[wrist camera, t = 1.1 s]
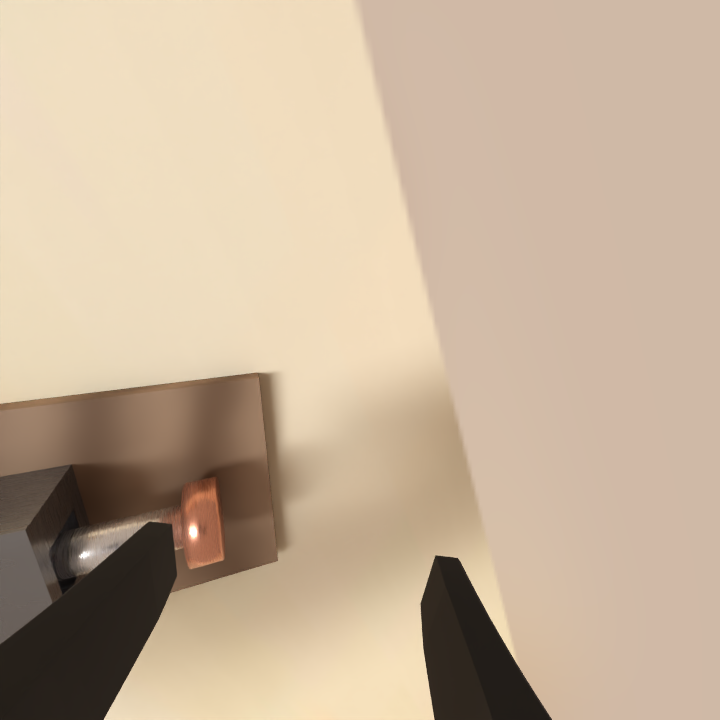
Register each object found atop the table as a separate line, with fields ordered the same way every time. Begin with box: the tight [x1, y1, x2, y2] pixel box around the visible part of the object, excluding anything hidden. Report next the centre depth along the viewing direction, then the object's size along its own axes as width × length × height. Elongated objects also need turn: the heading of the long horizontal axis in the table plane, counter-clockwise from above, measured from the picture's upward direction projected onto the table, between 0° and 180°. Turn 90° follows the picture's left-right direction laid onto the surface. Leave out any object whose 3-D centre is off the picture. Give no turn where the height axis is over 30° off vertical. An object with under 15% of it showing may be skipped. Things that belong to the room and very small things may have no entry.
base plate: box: [0, 373, 278, 593], centre depth 20 cm, size 19×14×1 cm
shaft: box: [48, 477, 225, 581], centre depth 18 cm, size 10×4×4 cm, turn 91°
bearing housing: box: [0, 464, 90, 644], centre depth 17 cm, size 4×7×5 cm, turn 1°
